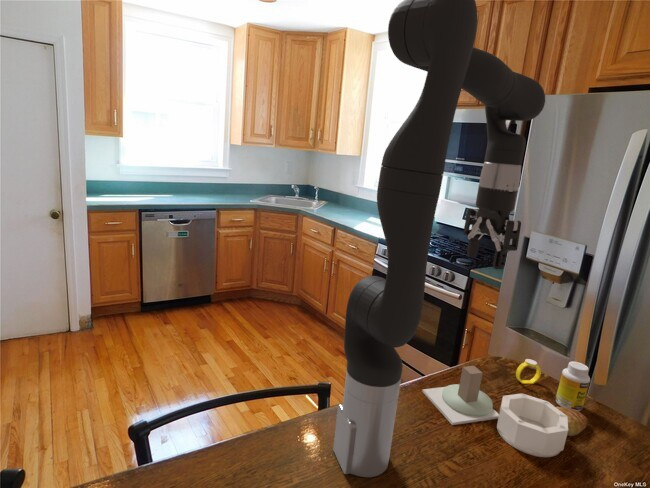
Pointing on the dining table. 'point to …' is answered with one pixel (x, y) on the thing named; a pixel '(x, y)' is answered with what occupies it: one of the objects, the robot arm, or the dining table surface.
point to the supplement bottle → (573, 386)
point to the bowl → (532, 425)
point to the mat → (451, 414)
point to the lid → (468, 394)
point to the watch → (527, 363)
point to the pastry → (574, 420)
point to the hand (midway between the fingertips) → (484, 262)
